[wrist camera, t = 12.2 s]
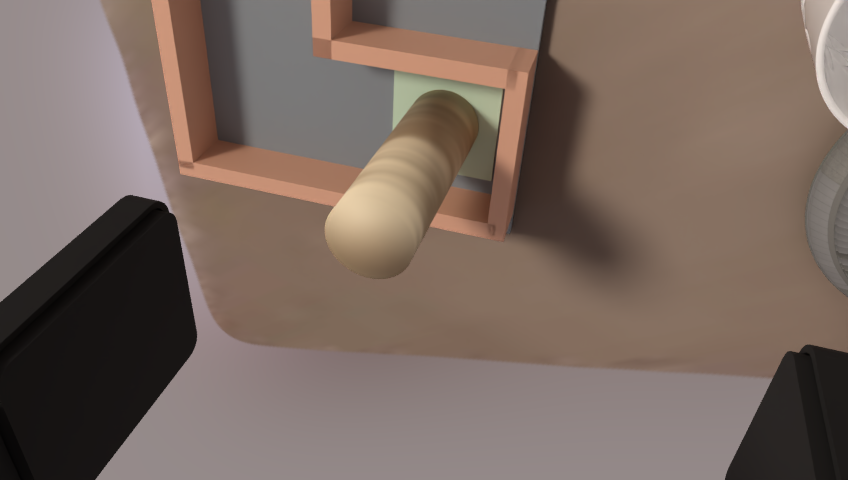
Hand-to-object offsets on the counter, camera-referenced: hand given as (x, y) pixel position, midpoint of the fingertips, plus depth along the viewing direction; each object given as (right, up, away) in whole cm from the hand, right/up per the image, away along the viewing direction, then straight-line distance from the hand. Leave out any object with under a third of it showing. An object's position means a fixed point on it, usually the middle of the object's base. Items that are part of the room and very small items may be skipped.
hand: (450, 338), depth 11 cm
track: (-4, +14, +28) cm, 31 cm away
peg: (+1, +8, +29) cm, 30 cm away
